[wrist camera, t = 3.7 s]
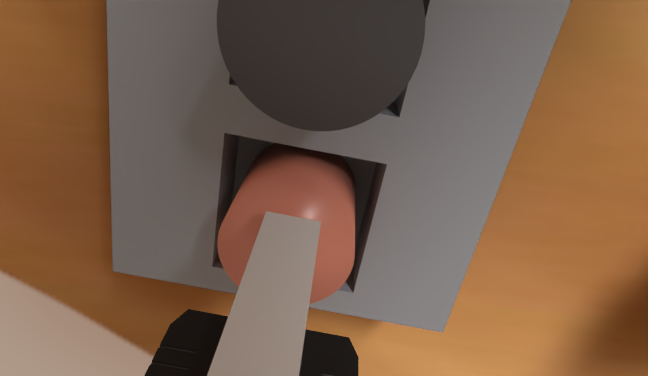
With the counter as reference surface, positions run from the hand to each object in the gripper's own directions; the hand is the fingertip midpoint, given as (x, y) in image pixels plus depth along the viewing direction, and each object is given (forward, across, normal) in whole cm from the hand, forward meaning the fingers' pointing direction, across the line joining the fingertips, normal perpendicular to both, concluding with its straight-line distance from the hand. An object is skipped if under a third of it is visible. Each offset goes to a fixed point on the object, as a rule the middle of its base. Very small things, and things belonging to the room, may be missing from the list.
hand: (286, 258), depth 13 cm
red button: (+5, 0, 0) cm, 5 cm away
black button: (+3, 0, +6) cm, 7 cm away
